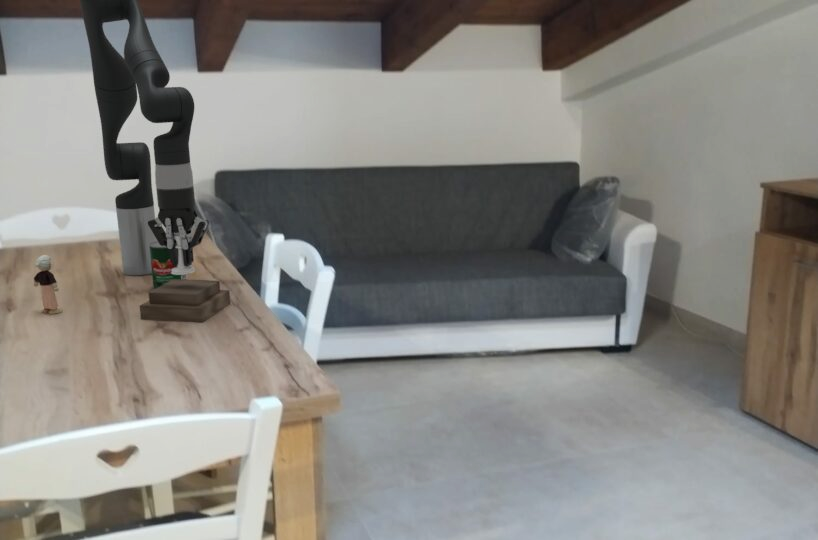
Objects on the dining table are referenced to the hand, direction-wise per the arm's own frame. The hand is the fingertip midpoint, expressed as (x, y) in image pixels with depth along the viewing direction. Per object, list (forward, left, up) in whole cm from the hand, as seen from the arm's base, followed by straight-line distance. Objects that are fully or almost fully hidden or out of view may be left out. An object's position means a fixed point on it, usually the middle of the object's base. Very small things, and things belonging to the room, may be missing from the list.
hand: (182, 264), depth 171 cm
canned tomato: (-17, -13, -11) cm, 24 cm away
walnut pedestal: (0, 0, -10) cm, 10 cm away
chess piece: (0, 0, -2) cm, 2 cm away
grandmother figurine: (+5, -30, -11) cm, 32 cm away
